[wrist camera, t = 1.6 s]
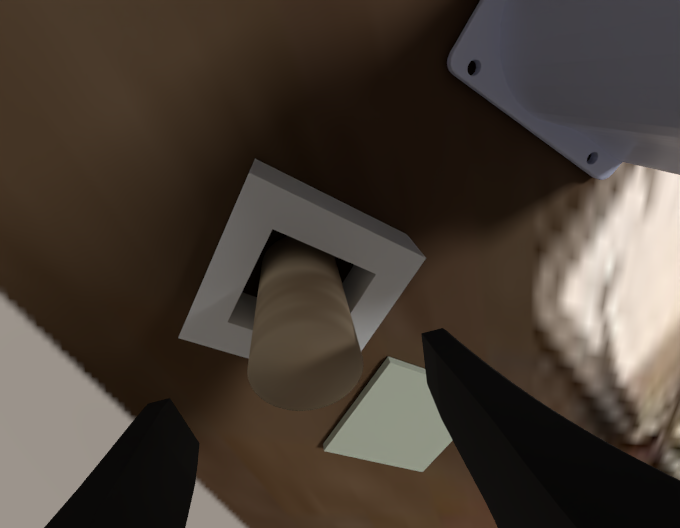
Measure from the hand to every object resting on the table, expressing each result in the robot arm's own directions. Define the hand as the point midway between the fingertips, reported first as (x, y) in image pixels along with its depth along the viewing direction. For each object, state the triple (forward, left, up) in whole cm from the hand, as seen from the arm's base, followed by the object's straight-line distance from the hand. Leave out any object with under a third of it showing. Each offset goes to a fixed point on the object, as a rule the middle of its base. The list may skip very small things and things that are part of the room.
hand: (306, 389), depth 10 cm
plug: (0, 0, -7) cm, 7 cm away
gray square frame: (0, 0, -7) cm, 7 cm away
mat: (-11, +7, -7) cm, 15 cm away
